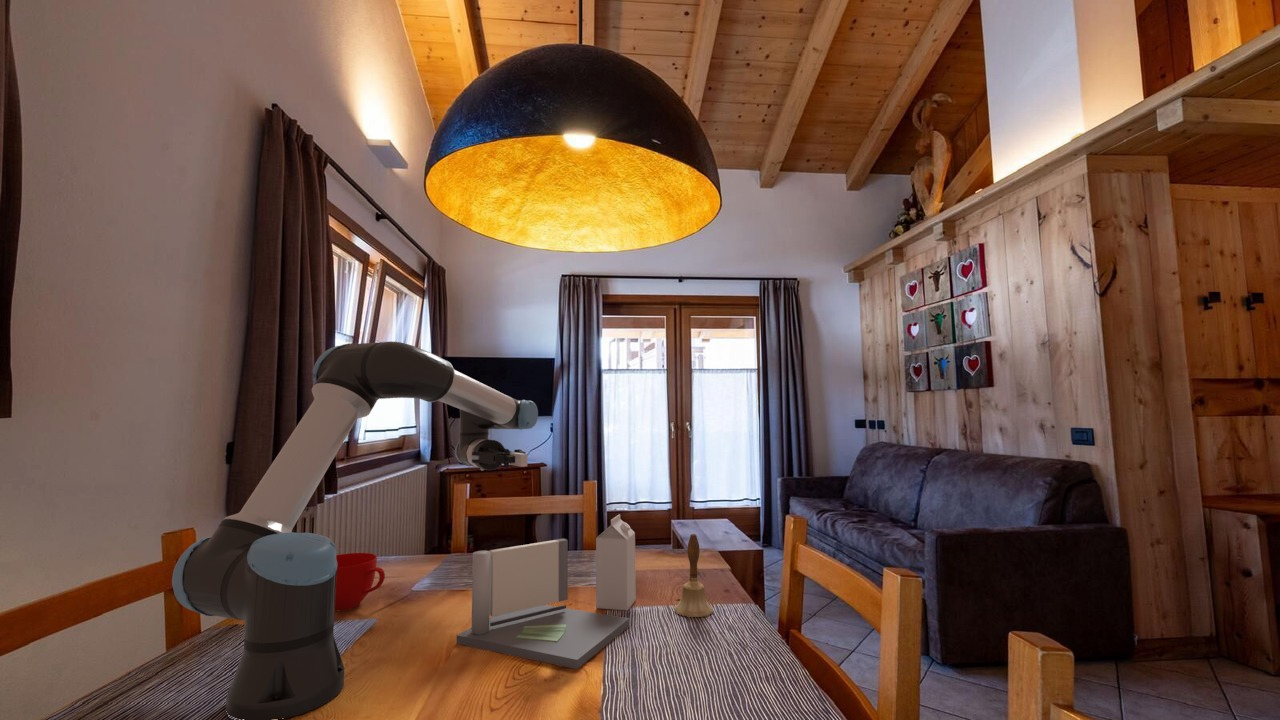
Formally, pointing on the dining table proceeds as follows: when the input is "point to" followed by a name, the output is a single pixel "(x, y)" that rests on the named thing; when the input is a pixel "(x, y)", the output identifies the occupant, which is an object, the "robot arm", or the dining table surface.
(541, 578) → the hinged door panel
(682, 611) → the hand bell
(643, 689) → the dining table surface
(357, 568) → the ceramic cup
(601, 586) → the milk carton
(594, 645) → the grey flat slab
